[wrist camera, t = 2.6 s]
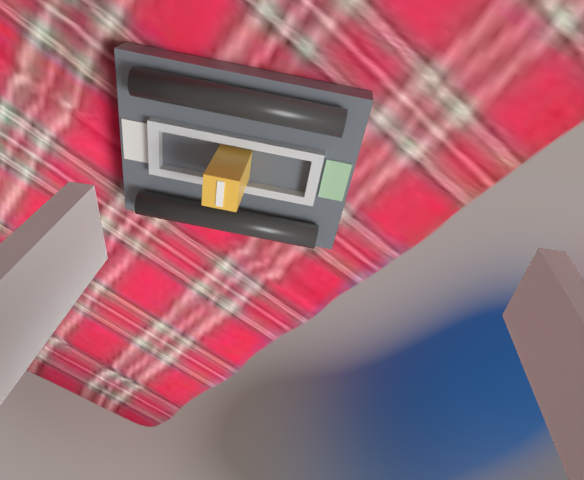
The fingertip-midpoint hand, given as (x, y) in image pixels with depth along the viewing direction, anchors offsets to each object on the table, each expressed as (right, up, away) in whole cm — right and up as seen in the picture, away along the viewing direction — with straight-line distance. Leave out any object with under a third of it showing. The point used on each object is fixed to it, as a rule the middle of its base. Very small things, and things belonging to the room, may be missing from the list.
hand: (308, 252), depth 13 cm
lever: (-6, +8, +28) cm, 29 cm away
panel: (-6, +9, +30) cm, 32 cm away
